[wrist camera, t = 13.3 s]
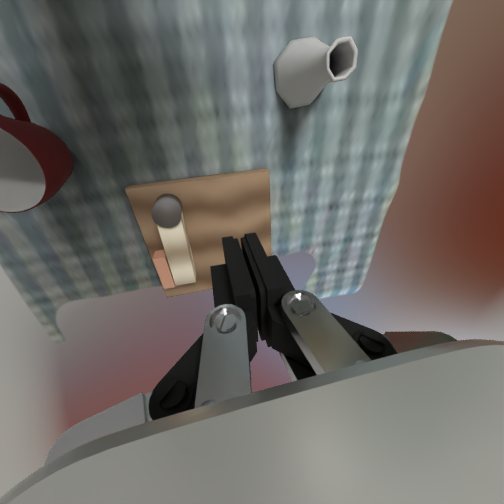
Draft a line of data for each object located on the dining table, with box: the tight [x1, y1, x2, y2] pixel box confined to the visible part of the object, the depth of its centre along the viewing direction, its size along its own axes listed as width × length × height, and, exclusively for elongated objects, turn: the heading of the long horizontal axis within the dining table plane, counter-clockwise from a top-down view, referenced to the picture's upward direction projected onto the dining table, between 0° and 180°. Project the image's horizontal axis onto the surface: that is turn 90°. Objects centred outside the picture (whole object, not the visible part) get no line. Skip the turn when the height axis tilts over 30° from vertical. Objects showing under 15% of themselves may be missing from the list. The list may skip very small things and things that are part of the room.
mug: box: [0, 83, 73, 213], centre depth 22 cm, size 11×8×10 cm
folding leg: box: [151, 194, 196, 286], centre depth 33 cm, size 14×4×4 cm, turn 2°
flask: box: [274, 36, 358, 109], centre depth 24 cm, size 7×7×10 cm
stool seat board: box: [125, 168, 271, 297], centre depth 37 cm, size 20×20×2 cm
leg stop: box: [153, 250, 175, 289], centre depth 36 cm, size 6×2×2 cm, turn 4°
